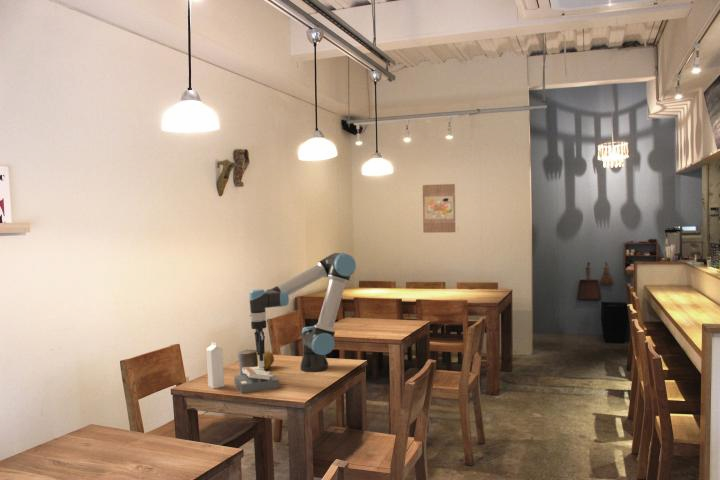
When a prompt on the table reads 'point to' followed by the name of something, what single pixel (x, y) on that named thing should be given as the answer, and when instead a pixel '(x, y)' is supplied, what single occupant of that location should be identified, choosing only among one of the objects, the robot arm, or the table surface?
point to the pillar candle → (247, 359)
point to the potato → (267, 359)
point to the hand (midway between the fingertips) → (261, 366)
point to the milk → (215, 366)
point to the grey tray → (255, 383)
